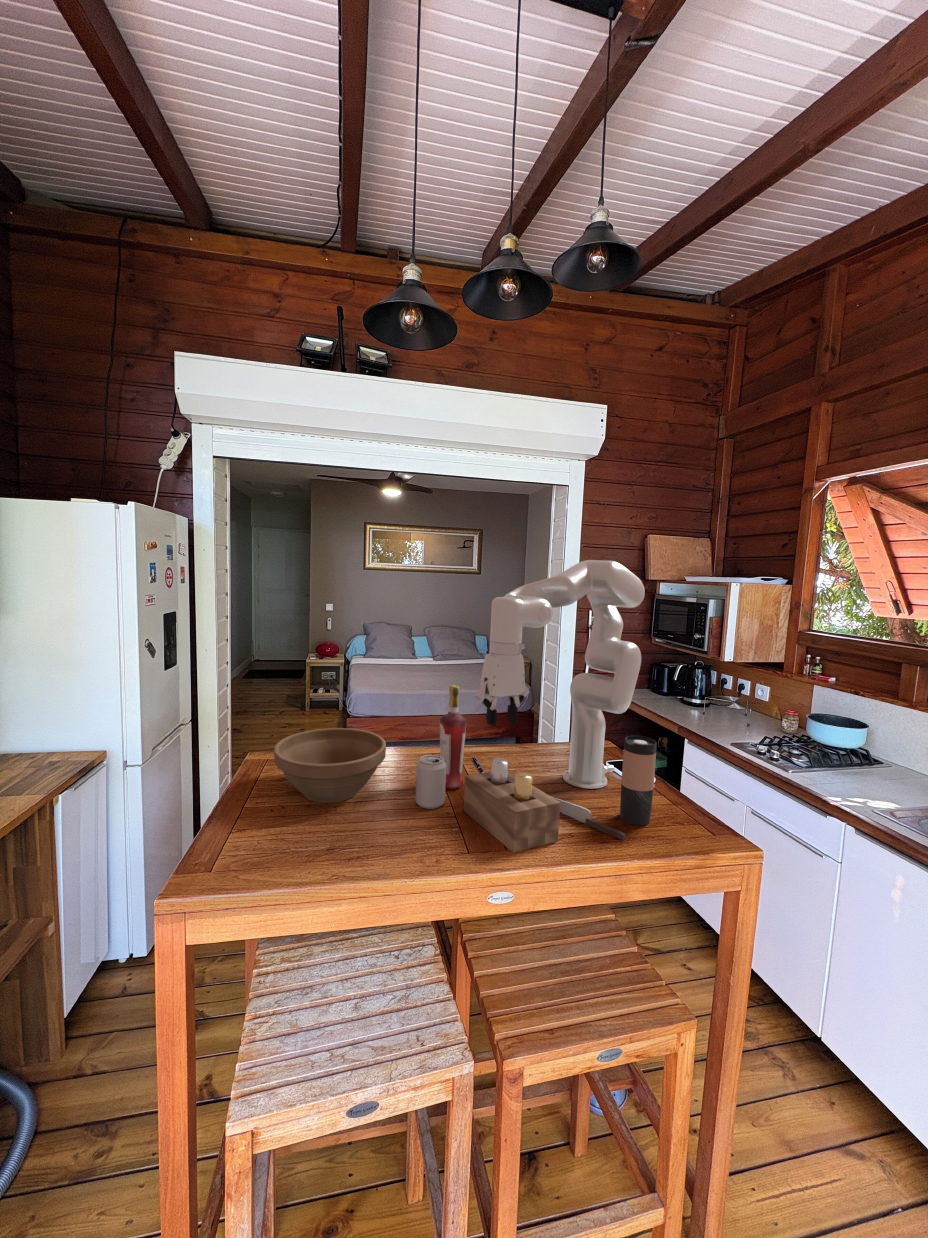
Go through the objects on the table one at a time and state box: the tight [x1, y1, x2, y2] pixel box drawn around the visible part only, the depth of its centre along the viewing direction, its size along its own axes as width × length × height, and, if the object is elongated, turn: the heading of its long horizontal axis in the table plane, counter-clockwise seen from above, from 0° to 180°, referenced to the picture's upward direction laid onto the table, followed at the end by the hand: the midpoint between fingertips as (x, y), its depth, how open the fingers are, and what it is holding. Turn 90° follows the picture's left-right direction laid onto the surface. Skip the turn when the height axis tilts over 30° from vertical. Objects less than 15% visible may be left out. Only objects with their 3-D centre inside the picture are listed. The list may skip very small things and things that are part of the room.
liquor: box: [439, 685, 467, 790], centre depth 148 cm, size 7×7×28 cm
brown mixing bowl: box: [273, 727, 387, 804], centre depth 141 cm, size 28×28×13 cm
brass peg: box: [514, 771, 534, 802], centre depth 122 cm, size 4×4×8 cm
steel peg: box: [490, 757, 509, 786], centre depth 131 cm, size 4×4×8 cm
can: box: [415, 754, 446, 810], centre depth 137 cm, size 8×8×12 cm
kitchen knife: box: [549, 795, 627, 841], centre depth 134 cm, size 4×1×30 cm
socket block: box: [463, 769, 561, 854], centre depth 127 cm, size 12×22×9 cm, turn 29°
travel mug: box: [619, 735, 657, 826], centre depth 133 cm, size 8×8×20 cm
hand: (501, 722), depth 130 cm, fingers open, 5 cm apart
